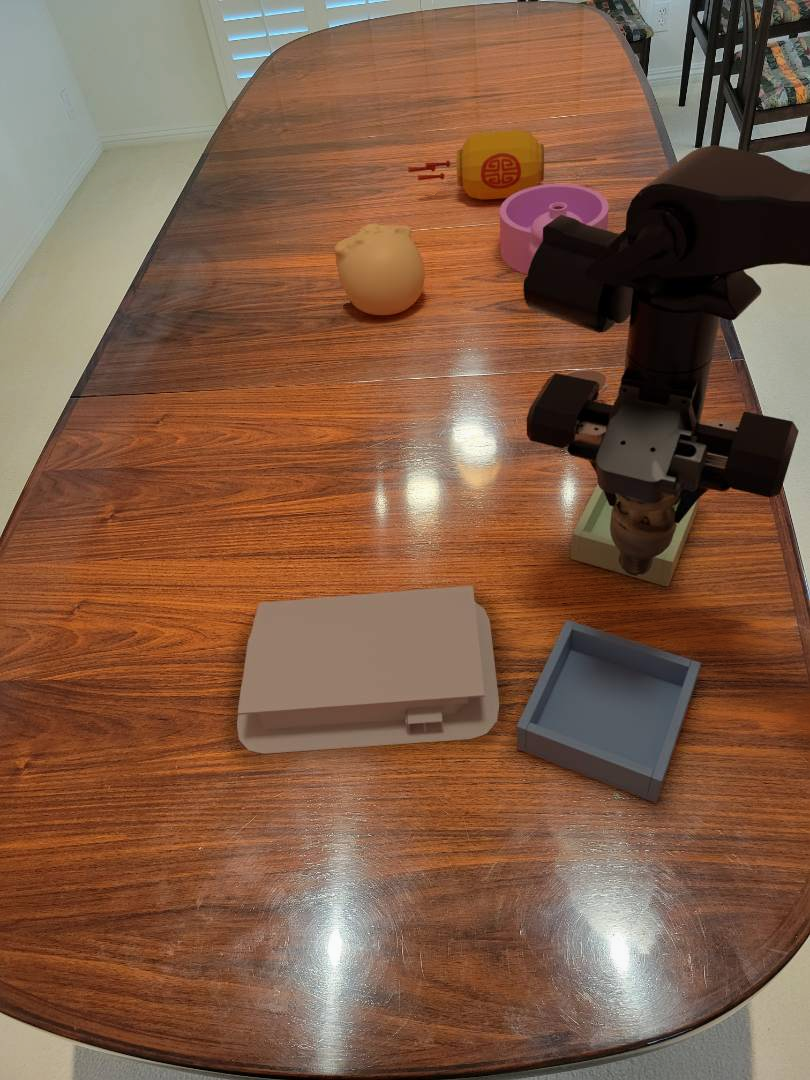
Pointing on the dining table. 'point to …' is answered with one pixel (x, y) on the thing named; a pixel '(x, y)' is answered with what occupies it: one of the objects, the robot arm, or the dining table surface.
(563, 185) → the container set
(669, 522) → the brown ridged cylinder
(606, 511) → the right bin
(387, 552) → the dining table surface
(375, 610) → the book
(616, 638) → the gray square bin
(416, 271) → the sculpture
